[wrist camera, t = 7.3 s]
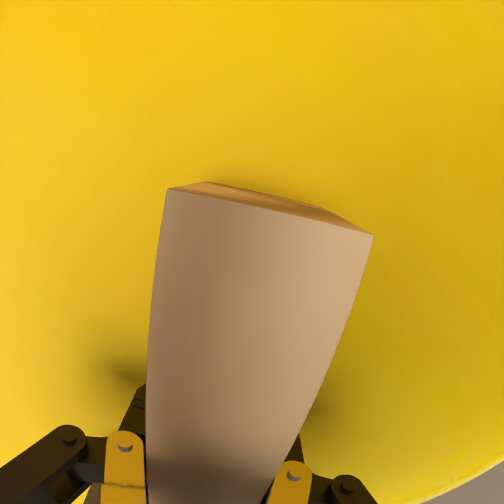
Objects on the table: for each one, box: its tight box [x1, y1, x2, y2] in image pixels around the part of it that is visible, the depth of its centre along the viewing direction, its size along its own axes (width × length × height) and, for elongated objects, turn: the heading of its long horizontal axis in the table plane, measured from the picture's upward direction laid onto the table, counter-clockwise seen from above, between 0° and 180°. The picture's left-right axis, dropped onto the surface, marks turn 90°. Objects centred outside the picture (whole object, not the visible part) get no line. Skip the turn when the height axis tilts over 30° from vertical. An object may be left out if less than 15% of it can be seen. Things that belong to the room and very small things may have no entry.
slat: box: [146, 182, 375, 504], centre depth 10 cm, size 4×18×5 cm, turn 168°
